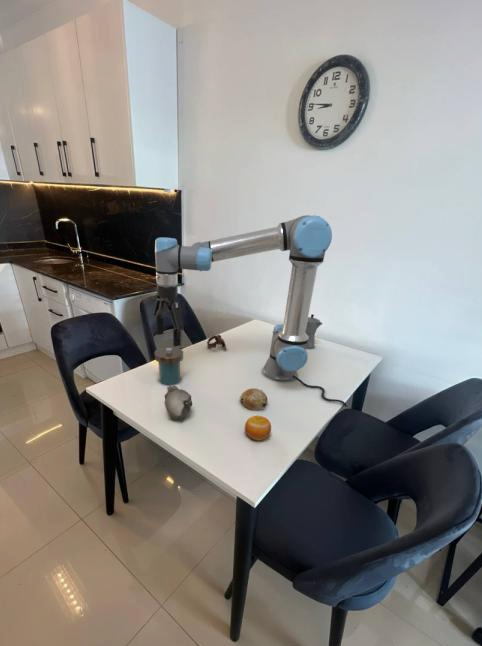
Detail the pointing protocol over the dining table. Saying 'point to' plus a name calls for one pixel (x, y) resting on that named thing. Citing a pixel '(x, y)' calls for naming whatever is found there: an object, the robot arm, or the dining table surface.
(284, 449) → the dining table surface
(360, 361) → the dining table surface
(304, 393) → the dining table surface
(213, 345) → the brown strappy sandal
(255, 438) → the fruit
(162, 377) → the canister
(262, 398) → the brown oval lump
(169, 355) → the lid
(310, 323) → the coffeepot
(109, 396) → the dining table surface
